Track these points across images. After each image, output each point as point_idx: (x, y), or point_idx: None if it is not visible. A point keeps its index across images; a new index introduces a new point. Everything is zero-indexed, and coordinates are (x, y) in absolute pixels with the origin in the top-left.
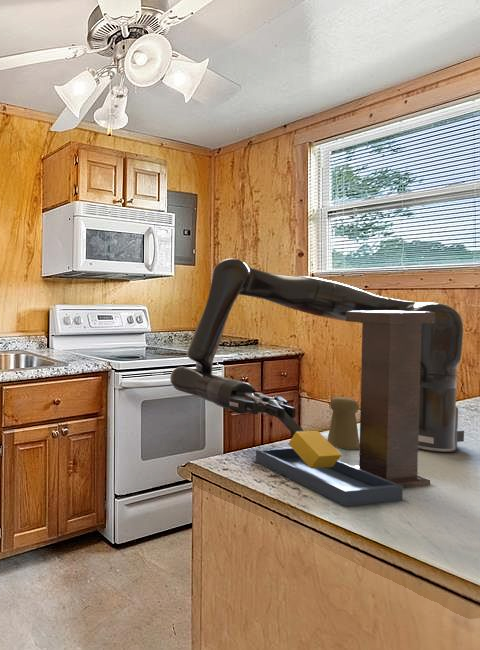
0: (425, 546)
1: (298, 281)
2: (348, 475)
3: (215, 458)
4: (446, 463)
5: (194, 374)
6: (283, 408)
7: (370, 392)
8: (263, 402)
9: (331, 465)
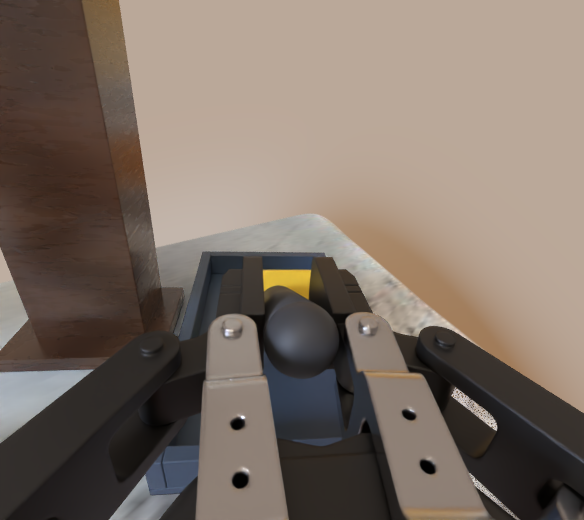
0: (305, 228)
1: None
2: (199, 329)
3: None
4: None
5: None
6: (314, 257)
7: (110, 77)
8: (375, 333)
9: None
